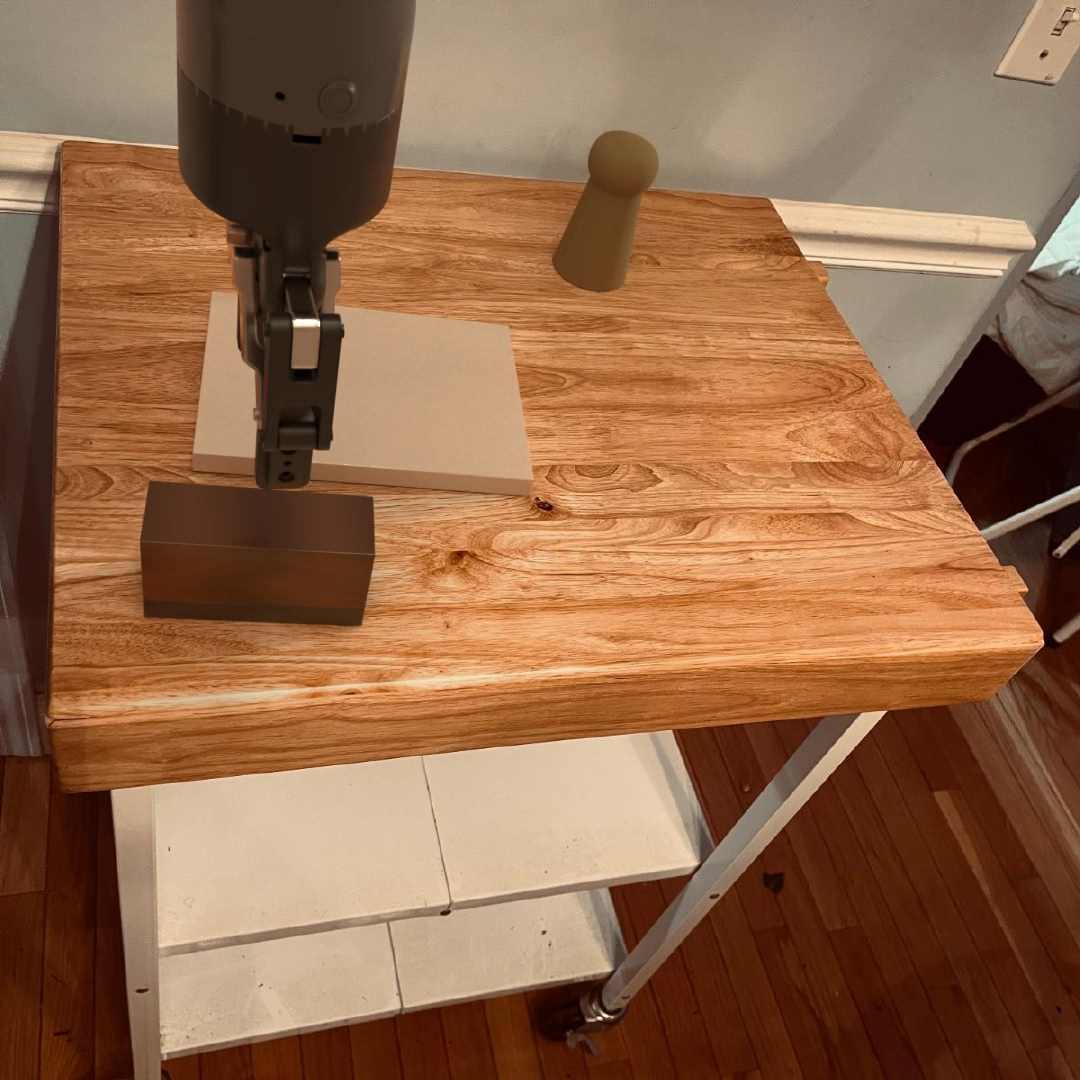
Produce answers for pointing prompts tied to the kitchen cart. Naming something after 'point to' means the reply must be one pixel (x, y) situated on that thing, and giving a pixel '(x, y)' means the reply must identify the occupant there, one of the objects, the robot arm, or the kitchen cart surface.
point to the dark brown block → (256, 554)
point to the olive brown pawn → (607, 212)
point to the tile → (384, 404)
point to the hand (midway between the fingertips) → (270, 413)
